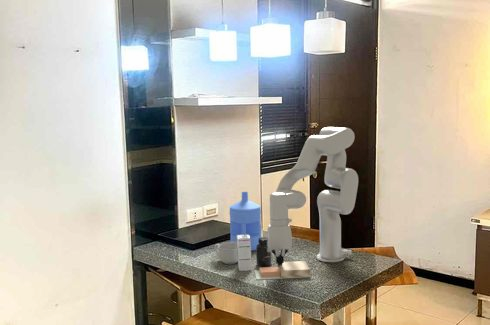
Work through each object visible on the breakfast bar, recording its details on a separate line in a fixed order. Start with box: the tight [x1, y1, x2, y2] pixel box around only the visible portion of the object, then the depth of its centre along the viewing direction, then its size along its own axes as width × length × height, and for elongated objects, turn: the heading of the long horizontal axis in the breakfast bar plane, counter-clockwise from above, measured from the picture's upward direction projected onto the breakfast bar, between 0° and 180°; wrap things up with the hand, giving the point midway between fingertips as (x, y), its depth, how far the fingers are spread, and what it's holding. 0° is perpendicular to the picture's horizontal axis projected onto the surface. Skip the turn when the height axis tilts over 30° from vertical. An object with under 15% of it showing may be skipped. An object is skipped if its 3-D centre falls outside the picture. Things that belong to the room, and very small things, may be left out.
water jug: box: [229, 191, 262, 252], centre depth 246 cm, size 16×16×28 cm
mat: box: [253, 269, 311, 281], centre depth 208 cm, size 22×11×1 cm, turn 94°
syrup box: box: [237, 235, 253, 272], centre depth 215 cm, size 6×6×14 cm
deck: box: [277, 260, 311, 279], centre depth 208 cm, size 12×11×3 cm
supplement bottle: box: [255, 236, 273, 268], centre depth 220 cm, size 7×7×12 cm
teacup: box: [213, 241, 238, 265], centre depth 226 cm, size 14×11×8 cm
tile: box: [259, 266, 280, 277], centre depth 207 cm, size 8×6×2 cm
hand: (279, 264), depth 207 cm, fingers closed
